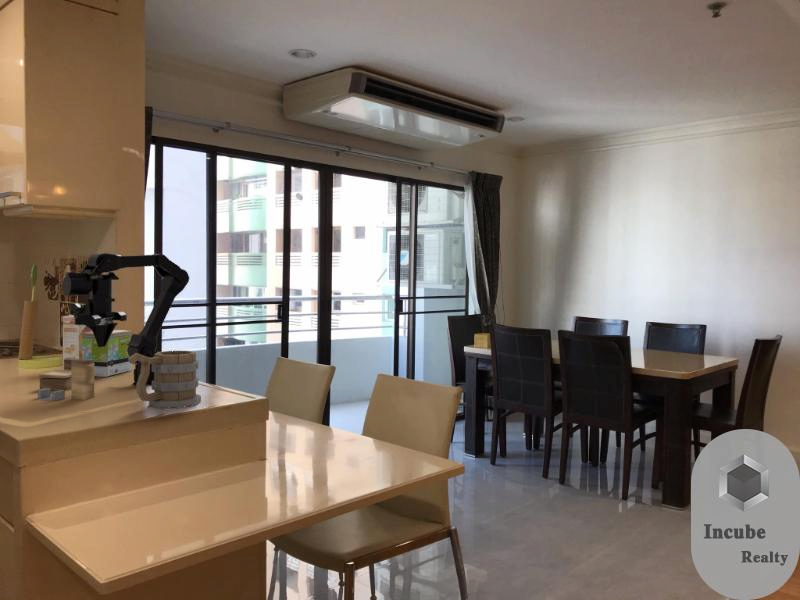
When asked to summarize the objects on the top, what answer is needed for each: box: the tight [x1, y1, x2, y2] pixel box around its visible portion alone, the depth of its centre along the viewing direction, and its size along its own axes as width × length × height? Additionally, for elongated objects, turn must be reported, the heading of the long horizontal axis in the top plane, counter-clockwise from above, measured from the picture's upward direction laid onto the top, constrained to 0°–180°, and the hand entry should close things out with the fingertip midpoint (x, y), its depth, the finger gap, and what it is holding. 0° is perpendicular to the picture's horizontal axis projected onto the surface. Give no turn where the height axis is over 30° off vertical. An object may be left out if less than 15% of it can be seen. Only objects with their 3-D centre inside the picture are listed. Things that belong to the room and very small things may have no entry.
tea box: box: [82, 329, 133, 378], centre depth 226 cm, size 15×10×15 cm, turn 171°
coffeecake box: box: [62, 315, 92, 369], centre depth 236 cm, size 15×7×20 cm, turn 168°
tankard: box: [128, 350, 202, 409], centre depth 175 cm, size 20×13×15 cm, turn 141°
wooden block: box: [71, 359, 95, 401], centre depth 178 cm, size 4×4×12 cm
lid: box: [39, 359, 78, 379], centre depth 195 cm, size 13×8×4 cm, turn 174°
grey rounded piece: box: [37, 388, 66, 402], centre depth 177 cm, size 6×7×3 cm
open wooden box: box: [39, 377, 72, 391], centre depth 195 cm, size 13×8×4 cm, turn 174°
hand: (101, 346), depth 195 cm, fingers closed
